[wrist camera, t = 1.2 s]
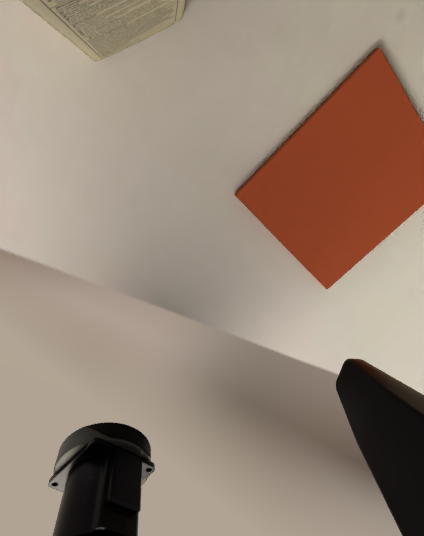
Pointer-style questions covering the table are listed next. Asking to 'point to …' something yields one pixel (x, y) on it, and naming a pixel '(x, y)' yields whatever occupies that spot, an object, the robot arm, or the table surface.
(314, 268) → the mat
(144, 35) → the box
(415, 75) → the table surface
